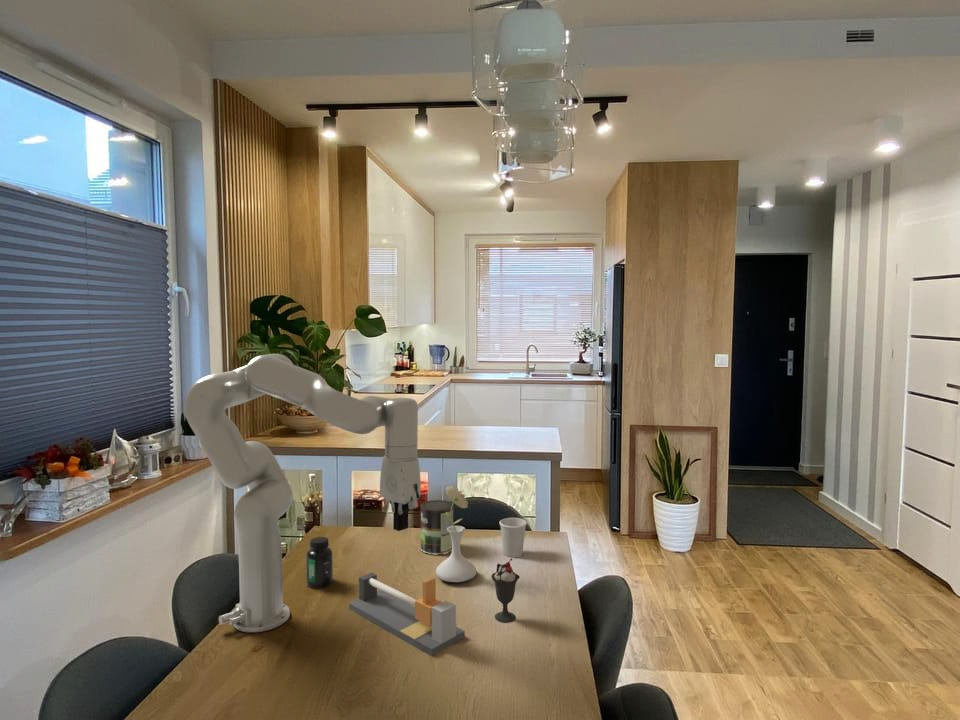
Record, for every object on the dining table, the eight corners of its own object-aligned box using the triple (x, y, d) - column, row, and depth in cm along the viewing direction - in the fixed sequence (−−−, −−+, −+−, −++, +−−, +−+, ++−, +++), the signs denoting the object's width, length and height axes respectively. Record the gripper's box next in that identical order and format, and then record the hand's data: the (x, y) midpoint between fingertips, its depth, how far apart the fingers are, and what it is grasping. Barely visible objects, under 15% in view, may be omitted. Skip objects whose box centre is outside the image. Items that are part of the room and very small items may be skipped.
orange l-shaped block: (415, 618, 130) (414, 579, 129) (428, 611, 133) (428, 573, 132) (430, 626, 127) (430, 586, 126) (443, 619, 130) (443, 580, 129)
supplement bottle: (312, 591, 152) (311, 546, 151) (303, 581, 157) (302, 538, 157) (336, 584, 156) (336, 540, 155) (327, 575, 161) (326, 533, 161)
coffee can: (424, 557, 174) (424, 511, 173) (417, 544, 184) (417, 501, 183) (457, 553, 177) (457, 508, 176) (449, 541, 187) (448, 498, 186)
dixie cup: (527, 549, 180) (527, 518, 180) (525, 560, 172) (525, 527, 171) (500, 548, 181) (501, 516, 181) (497, 558, 173) (497, 526, 173)
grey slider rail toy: (349, 609, 142) (348, 575, 142) (381, 595, 150) (381, 563, 149) (431, 656, 122) (431, 617, 122) (464, 637, 129) (464, 600, 129)
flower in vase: (482, 582, 157) (482, 492, 156) (443, 589, 153) (442, 496, 151) (466, 564, 169) (466, 480, 168) (428, 570, 165) (428, 484, 164)
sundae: (517, 625, 134) (517, 562, 134) (489, 622, 136) (489, 560, 135) (521, 612, 141) (521, 552, 140) (494, 609, 142) (494, 549, 141)
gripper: (368, 448, 136) (368, 525, 138) (409, 459, 126) (408, 541, 127) (393, 444, 142) (393, 517, 143) (434, 454, 132) (434, 533, 133)
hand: (400, 528), depth 135 cm, fingers closed
